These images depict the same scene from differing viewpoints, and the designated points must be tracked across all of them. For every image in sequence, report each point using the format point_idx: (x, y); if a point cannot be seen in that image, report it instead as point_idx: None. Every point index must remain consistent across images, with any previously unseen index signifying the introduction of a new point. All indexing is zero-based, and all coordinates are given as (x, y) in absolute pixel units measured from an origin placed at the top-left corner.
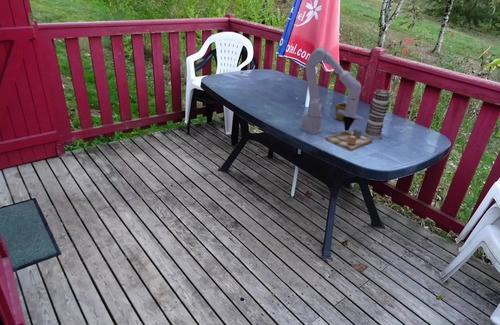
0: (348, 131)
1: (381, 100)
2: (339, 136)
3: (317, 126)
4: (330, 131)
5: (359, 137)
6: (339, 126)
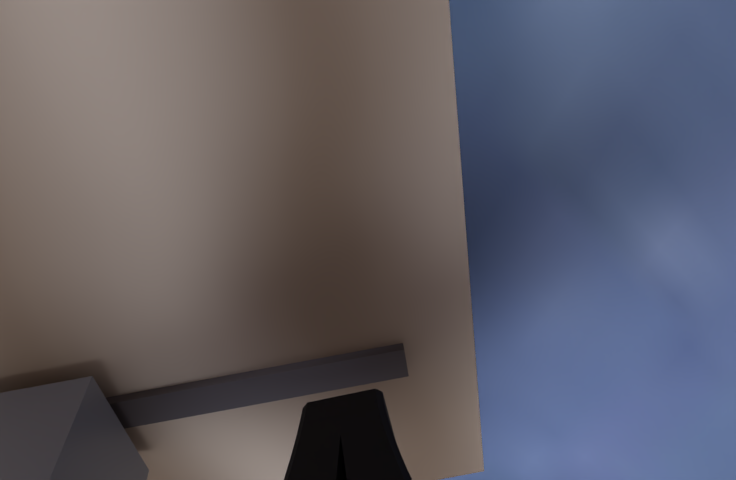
0: (408, 450)
1: None
2: (226, 30)
3: None
4: (730, 169)
5: None
6: (721, 463)
